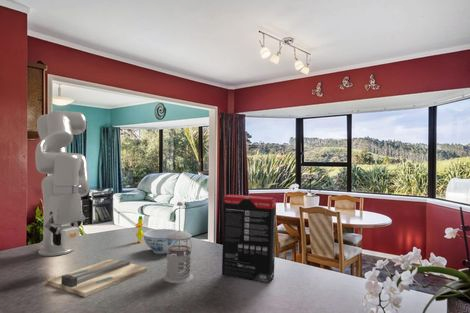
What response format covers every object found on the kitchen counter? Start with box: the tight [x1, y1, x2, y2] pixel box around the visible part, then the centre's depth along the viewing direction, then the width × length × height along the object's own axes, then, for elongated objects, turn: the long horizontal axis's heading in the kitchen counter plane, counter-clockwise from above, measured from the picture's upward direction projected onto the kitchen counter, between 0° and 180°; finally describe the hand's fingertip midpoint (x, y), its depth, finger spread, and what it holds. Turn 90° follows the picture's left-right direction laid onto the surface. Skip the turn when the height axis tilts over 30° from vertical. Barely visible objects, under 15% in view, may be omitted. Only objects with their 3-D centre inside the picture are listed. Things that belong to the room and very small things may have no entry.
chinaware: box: [143, 228, 179, 255], centre depth 133 cm, size 15×15×8 cm
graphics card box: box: [221, 194, 277, 284], centre depth 106 cm, size 17×7×27 cm, turn 71°
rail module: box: [51, 225, 80, 249], centre depth 109 cm, size 9×5×6 cm, turn 61°
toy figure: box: [135, 215, 145, 244], centre depth 146 cm, size 7×4×12 cm, turn 174°
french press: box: [163, 201, 194, 284], centre depth 106 cm, size 10×12×25 cm
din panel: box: [46, 258, 148, 298], centre depth 104 cm, size 18×24×4 cm
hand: (65, 242), depth 109 cm, fingers closed on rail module, 5 cm apart
